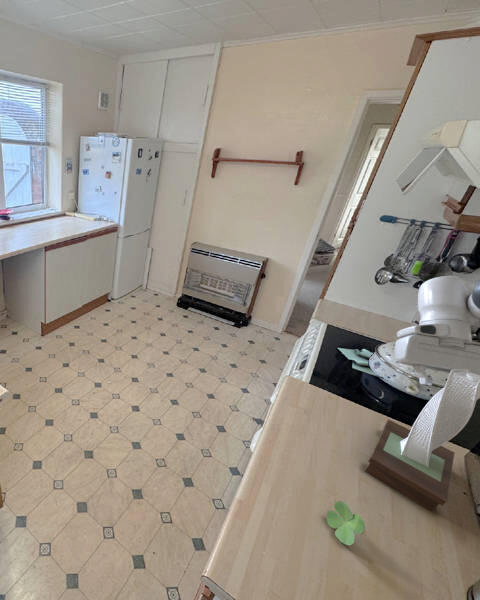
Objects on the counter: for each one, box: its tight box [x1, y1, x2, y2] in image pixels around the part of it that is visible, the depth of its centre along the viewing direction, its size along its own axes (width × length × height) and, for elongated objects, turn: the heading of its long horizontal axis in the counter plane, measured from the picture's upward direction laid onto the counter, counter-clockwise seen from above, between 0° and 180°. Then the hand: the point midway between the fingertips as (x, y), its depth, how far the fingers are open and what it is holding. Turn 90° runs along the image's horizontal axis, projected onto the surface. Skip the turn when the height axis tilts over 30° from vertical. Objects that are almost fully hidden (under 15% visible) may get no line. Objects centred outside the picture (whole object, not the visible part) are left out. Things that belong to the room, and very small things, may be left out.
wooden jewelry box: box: [364, 419, 455, 512], centre depth 86 cm, size 22×14×5 cm, turn 129°
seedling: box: [326, 500, 366, 546], centre depth 71 cm, size 7×8×7 cm
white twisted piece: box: [400, 369, 480, 467], centre depth 78 cm, size 8×8×28 cm
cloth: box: [337, 347, 379, 378], centre depth 130 cm, size 20×22×2 cm
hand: (449, 389), depth 78 cm, fingers open, 8 cm apart
